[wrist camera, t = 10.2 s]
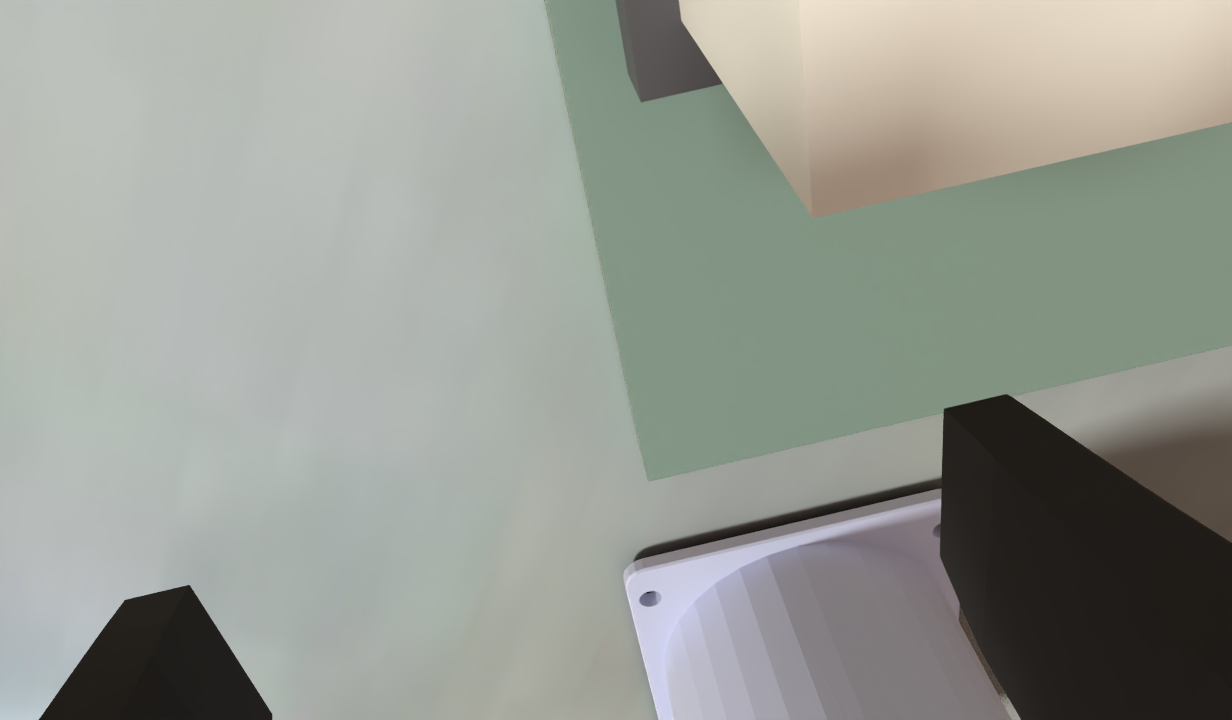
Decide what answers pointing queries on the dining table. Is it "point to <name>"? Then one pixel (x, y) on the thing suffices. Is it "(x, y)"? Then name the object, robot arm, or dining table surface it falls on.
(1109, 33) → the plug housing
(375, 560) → the dining table surface
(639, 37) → the header board
